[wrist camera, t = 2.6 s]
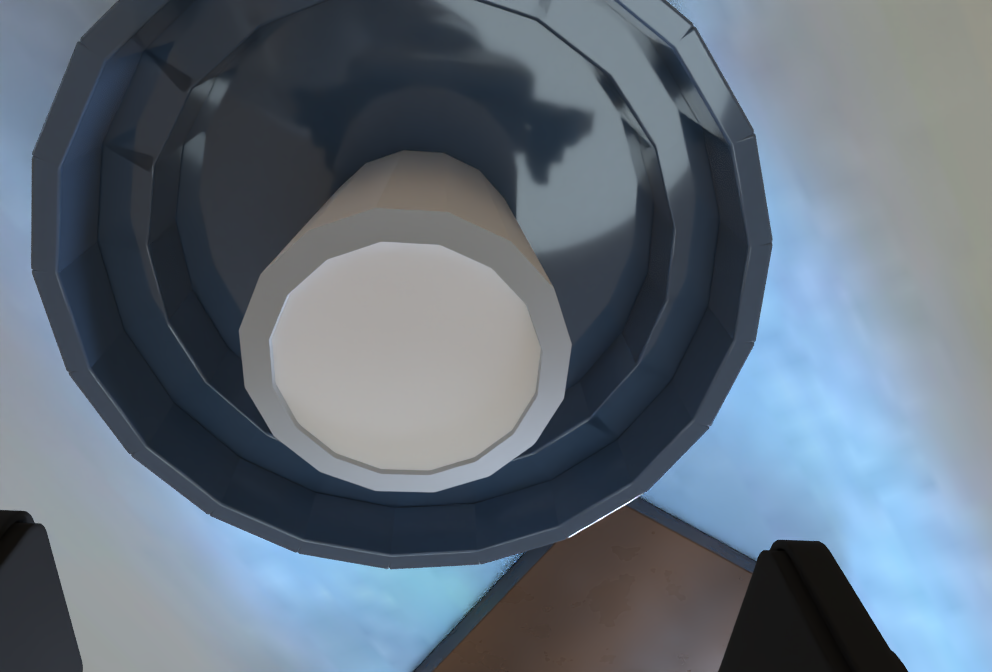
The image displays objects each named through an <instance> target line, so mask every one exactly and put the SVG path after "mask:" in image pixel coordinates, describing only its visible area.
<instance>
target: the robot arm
mask: <svg viewBox="0 0 992 672" xmlns="http://www.w3.org/2000/svg"><path fill="white" fill-rule="evenodd" d="M0 672H83V665H82V660H81V656H80V652H79V649H78V645H77V641H76V638H75V634H74V630H73V627H72V623H71V619H70V616H69V612H68V608H67V605H66V601H65V598H64V594H63V590H62V587H61V583H60V579H59V576H58V572H57V568H56V565H55V561H54V557H53V554H52V550H51V546H50V543H49V539H48V535H47V532H46V529H45V527H44V526H43V525H42V524H38V523H34V520H33V518H32V516H31V515H30V514H29V513H28V512H26V511H9V510H0ZM718 672H908V671H907V669H906V667H905V666H904V664H903V663H902V662H901V660H900V659H899V658H898V657H897V655H896V654H895V653H894V652H893V651H891V650H890V648H889V647H888V645H887V643H886V642H885V640H884V638H883V637H882V635H881V634H880V632H879V630H878V629H877V627H876V625H875V624H874V622H873V621H872V619H871V617H870V616H869V614H868V612H867V611H866V609H865V608H864V606H863V604H862V603H861V601H860V599H859V598H858V596H857V595H856V593H855V591H854V590H853V588H852V586H851V585H850V583H849V582H848V580H847V578H846V577H845V575H844V573H843V572H842V570H841V569H840V567H839V565H838V564H837V562H836V560H835V559H834V557H833V556H832V554H831V552H830V551H829V549H828V548H827V547H826V546H825V544H823V543H821V542H820V541H797V540H777V541H775V542H774V543H773V544H772V546H771V548H770V550H763V551H762V552H761V553H760V555H759V557H758V559H757V562H756V565H755V568H754V571H753V574H752V577H751V579H750V582H749V585H748V588H747V591H746V594H745V597H744V599H743V602H742V605H741V608H740V611H739V614H738V617H737V620H736V622H735V625H734V628H733V631H732V634H731V637H730V640H729V642H728V645H727V648H726V651H725V654H724V657H723V660H722V662H721V665H720V668H719V671H718Z"/></svg>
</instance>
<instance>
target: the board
mask: <svg viewBox="0 0 992 672" xmlns="http://www.w3.org/2000/svg"><path fill="white" fill-rule="evenodd" d="M755 565H756V561H754V560H752V559H750V558H748V557H746V556H745V555H743V554H741V553H739V552H737V551H735V550H734V549H732V548H730V547H728V546H726V545H724V544H723V543H721V542H719V541H717V540H715V539H713V538H712V537H710V536H708V535H706V534H704V533H702V532H701V531H699V530H697V529H695V528H693V527H692V526H690V525H688V524H686V523H684V522H682V521H681V520H679V519H677V518H675V517H673V516H671V515H670V514H668V513H666V512H664V511H662V510H660V509H659V508H657V507H655V506H653V505H651V504H649V503H648V502H646V501H644V500H642V499H640V498H636V499H634V500H633V501H631V502H629V503H627V504H626V505H624V506H622V507H621V508H619V509H617V510H616V511H614V512H612V513H610V514H609V515H607V516H605V517H604V518H602V519H600V520H598V521H597V522H595V523H593V524H592V525H590V526H588V527H586V528H585V529H583V530H581V531H580V532H578V533H576V534H574V535H573V536H571V537H569V538H566V539H565V540H562V541H559V542H555V543H552V544H549V545H545V546H542V547H538V548H535V549H532V550H528V551H527V552H526V553H525V554H524V555H523V556H522V557H521V558H520V559H519V560H518V561H517V562H516V563H515V564H514V566H513V567H512V568H511V569H510V570H509V571H508V572H507V573H506V574H505V575H504V576H503V577H502V578H501V579H500V580H499V582H498V583H497V584H496V585H495V586H494V587H493V588H492V589H491V590H490V591H489V592H488V593H487V594H486V595H485V596H484V598H483V599H482V600H481V601H480V602H479V603H478V604H477V605H476V606H475V607H474V608H473V609H472V610H471V611H470V612H469V614H468V615H467V616H466V617H465V618H464V619H463V620H462V621H461V622H460V623H459V624H458V625H457V626H456V627H455V628H454V630H453V631H452V632H451V633H450V634H449V635H448V636H447V637H446V638H445V639H444V640H443V641H442V642H441V643H440V644H439V646H438V647H437V648H436V649H435V650H434V651H433V652H432V653H431V654H430V655H429V656H428V657H427V658H426V659H425V660H424V662H423V663H422V664H421V665H420V666H419V667H418V668H417V669H416V670H415V671H414V672H718V671H719V668H720V665H721V662H722V660H723V657H724V654H725V651H726V648H727V645H728V642H729V640H730V637H731V634H732V631H733V628H734V625H735V622H736V620H737V617H738V614H739V611H740V608H741V605H742V602H743V599H744V597H745V594H746V591H747V588H748V585H749V582H750V579H751V577H752V574H753V571H754V568H755Z"/></svg>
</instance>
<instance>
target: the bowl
mask: <svg viewBox="0 0 992 672" xmlns="http://www.w3.org/2000/svg"><path fill="white" fill-rule="evenodd" d="M753 132H754V130H753V128H752V126H751V124H750V122H749V121H748V119H747V117H746V115H745V113H744V112H743V110H742V108H741V106H740V105H739V103H738V101H737V99H736V98H735V96H734V94H733V92H732V90H731V89H730V87H729V85H728V83H727V82H726V80H725V78H724V76H723V74H722V73H721V71H720V69H719V67H718V66H717V64H716V62H715V60H714V59H713V57H712V55H711V53H710V51H709V50H708V48H707V46H706V44H705V43H704V41H703V39H702V37H701V35H700V34H699V32H698V30H697V28H696V27H694V26H693V24H692V22H691V21H689V20H688V19H687V18H686V17H685V16H684V15H682V14H681V13H680V12H679V11H678V10H676V9H675V8H674V7H673V6H672V5H671V4H669V3H668V2H667V1H666V0H118V1H117V2H116V3H115V4H114V5H113V6H112V7H111V8H110V9H109V10H108V11H107V12H106V13H105V14H104V15H103V16H102V17H101V18H100V19H99V20H98V21H97V22H96V23H95V24H94V25H93V26H92V27H91V28H90V29H89V30H88V31H87V32H86V33H85V34H84V35H83V36H82V37H81V39H80V41H78V42H77V44H76V47H75V49H74V52H73V54H72V56H71V59H70V61H69V64H68V66H67V69H66V71H65V74H64V76H63V79H62V81H61V84H60V86H59V88H58V91H57V93H56V96H55V98H54V101H53V103H52V106H51V108H50V111H49V113H48V115H47V118H46V120H45V123H44V125H43V128H42V130H41V133H40V135H39V138H38V140H37V142H36V145H35V147H34V150H33V152H32V155H33V157H32V231H31V268H32V269H33V270H32V274H33V277H34V280H35V283H36V285H37V288H38V291H39V294H40V297H41V299H42V302H43V305H44V308H45V311H46V314H47V316H48V319H49V322H50V325H51V328H52V330H53V333H54V336H55V339H56V342H57V345H58V347H59V350H60V353H61V356H62V359H63V361H64V364H65V367H66V370H67V371H68V372H69V375H70V376H71V378H72V379H73V380H74V382H75V383H76V384H77V386H78V387H79V388H80V390H81V391H82V392H83V394H84V395H85V396H86V398H87V399H88V400H89V402H90V403H91V404H92V405H93V407H94V408H95V409H96V411H97V412H98V413H99V415H100V416H101V417H102V419H103V420H104V421H105V423H106V424H107V425H108V427H109V428H110V429H111V431H112V432H113V433H114V435H115V436H116V437H117V439H118V440H119V441H120V443H121V444H122V445H123V447H124V448H125V449H126V450H127V452H128V453H129V454H131V456H132V457H133V458H134V459H136V460H137V461H138V462H140V463H141V464H142V465H144V466H145V467H146V468H148V469H149V470H150V471H151V472H153V473H154V474H155V475H157V476H158V477H159V478H161V479H162V480H163V481H165V482H166V483H167V484H169V485H170V486H171V487H172V488H174V489H175V490H176V491H178V492H179V493H180V494H182V495H183V496H184V497H186V498H187V499H188V500H189V501H191V502H192V503H193V504H195V505H196V506H197V507H199V508H200V509H201V510H203V511H204V512H205V513H206V514H210V516H212V517H214V518H216V519H219V520H221V521H223V522H226V523H228V524H230V525H233V526H235V527H237V528H240V529H242V530H244V531H247V532H249V533H251V534H254V535H256V536H258V537H260V538H263V539H265V540H267V541H270V542H272V543H274V544H277V545H279V546H281V547H284V548H286V549H288V550H291V551H293V552H298V553H299V554H304V555H310V556H316V557H321V558H327V559H333V560H339V561H344V562H350V563H356V564H362V565H367V566H373V567H379V568H384V569H388V568H390V569H405V568H423V567H441V566H460V565H478V564H484V563H487V562H491V561H494V560H498V559H501V558H504V557H508V556H511V555H515V554H518V553H521V552H525V551H528V550H532V549H535V548H538V547H542V546H545V545H549V544H552V543H555V542H559V541H562V540H565V539H566V538H569V537H571V536H573V535H574V534H576V533H578V532H580V531H581V530H583V529H585V528H586V527H588V526H590V525H592V524H593V523H595V522H597V521H598V520H600V519H602V518H604V517H605V516H607V515H609V514H610V513H612V512H614V511H616V510H617V509H619V508H621V507H622V506H624V505H626V504H627V503H629V502H631V501H633V500H634V499H636V498H638V497H639V496H641V495H643V494H644V492H647V491H648V490H649V489H650V488H651V487H652V486H653V485H654V484H655V483H656V482H657V481H658V480H659V479H660V478H661V477H662V476H663V475H664V474H665V473H666V472H667V471H668V470H669V469H670V468H671V467H672V466H673V465H674V464H675V463H676V462H677V461H678V460H679V459H680V457H681V456H682V455H683V454H684V453H685V452H686V451H687V450H688V449H689V448H690V447H691V446H692V445H693V444H694V443H695V442H696V441H697V440H698V439H699V438H700V437H701V436H702V435H703V434H704V433H705V432H706V431H707V430H708V429H709V426H711V425H712V423H713V421H714V419H715V417H716V415H717V413H718V412H719V410H720V408H721V406H722V404H723V402H724V400H725V398H726V397H727V395H728V393H729V391H730V389H731V387H732V385H733V383H734V382H735V380H736V378H737V376H738V374H739V372H740V370H741V368H742V367H743V365H744V363H745V361H746V359H747V357H748V355H749V353H750V352H751V350H752V348H753V346H754V342H755V341H756V335H757V329H758V324H759V318H760V312H761V307H762V301H763V296H764V290H765V284H766V279H767V273H768V267H769V262H770V256H771V250H772V233H771V227H770V221H769V215H768V209H767V203H766V197H765V190H764V184H763V178H762V172H761V166H760V160H759V154H758V148H757V142H756V136H755V134H754V133H753ZM403 150H407V151H422V152H438V153H445V154H447V155H449V156H451V157H453V158H455V159H457V160H459V161H461V162H463V163H465V164H467V165H469V166H471V167H474V168H476V169H478V170H479V171H480V172H481V173H482V174H483V175H484V176H485V177H486V178H487V180H488V181H489V182H490V183H491V184H492V185H493V186H494V188H495V189H496V190H497V191H498V192H499V193H500V194H501V195H502V197H503V198H504V199H505V201H506V202H507V204H508V206H509V208H510V210H511V211H512V213H513V215H514V217H515V219H516V220H517V222H518V224H519V226H520V228H521V230H522V231H523V233H524V235H525V237H526V239H527V240H528V242H529V244H530V246H531V248H532V249H533V251H534V253H535V255H536V257H537V258H538V260H539V262H540V264H541V266H542V267H543V269H544V271H545V273H546V275H547V276H548V278H549V280H550V282H551V284H552V286H553V287H554V289H555V292H556V296H557V299H558V302H559V305H560V308H561V312H562V315H563V318H564V321H565V324H566V327H567V331H568V334H569V337H570V340H571V343H572V347H571V354H570V360H569V367H568V374H567V381H566V388H565V395H564V399H563V401H562V402H561V404H560V405H559V407H558V408H557V410H556V412H555V413H554V415H553V416H552V418H551V419H550V421H549V422H548V424H547V426H546V427H545V429H544V430H543V432H542V433H541V435H540V436H539V438H538V439H537V441H536V443H535V444H534V445H533V446H531V447H530V448H528V449H527V450H526V451H524V452H523V453H521V454H520V455H518V456H517V457H516V458H514V459H513V460H511V461H510V462H509V463H507V464H506V465H504V466H503V467H502V468H500V469H499V470H497V471H496V472H495V473H493V474H492V475H490V476H489V477H485V478H482V479H478V480H475V481H471V482H468V483H465V484H461V485H458V486H454V487H451V488H447V489H444V490H441V491H437V492H398V491H374V490H371V489H368V488H366V487H363V486H360V485H357V484H354V483H351V482H348V481H345V480H342V479H339V478H336V477H333V476H331V475H328V474H325V473H322V472H319V471H318V470H317V469H316V468H314V467H313V466H312V465H310V464H309V463H308V462H307V461H305V460H304V459H303V458H301V457H300V456H299V455H297V454H296V453H295V452H294V451H292V450H291V449H290V448H288V447H287V446H286V445H285V444H283V443H282V442H281V441H279V440H278V439H277V438H276V437H274V436H273V434H272V432H271V431H270V429H269V427H268V425H267V424H266V422H265V420H264V419H263V417H262V415H261V414H260V412H259V410H258V409H257V407H256V405H255V404H254V402H253V400H252V399H251V397H250V395H249V394H248V392H247V390H246V388H245V385H244V376H243V366H242V356H241V347H240V337H239V329H240V326H241V323H242V321H243V318H244V316H245V313H246V310H247V308H248V305H249V303H250V300H251V297H252V295H253V292H254V290H255V287H256V284H257V282H258V279H259V277H260V274H261V273H262V272H263V271H264V270H265V269H266V268H267V267H268V265H269V264H270V263H271V262H272V261H273V260H274V259H275V258H276V257H277V256H278V254H279V253H280V252H281V251H282V250H283V249H284V248H285V247H286V246H287V245H288V243H289V242H290V241H291V240H292V239H293V238H294V237H295V236H296V235H297V234H298V232H299V231H300V230H301V229H302V228H303V227H304V226H305V225H306V224H307V223H308V221H309V220H310V219H311V218H312V217H313V216H314V215H315V214H316V213H317V212H318V210H319V209H320V208H321V207H322V206H323V205H324V204H325V203H326V202H327V201H328V199H329V198H330V197H331V196H332V195H333V194H334V193H335V192H336V191H337V190H338V189H339V188H340V187H341V186H342V185H343V184H344V183H345V182H346V181H347V180H348V179H349V178H350V177H352V176H353V175H354V174H355V173H356V172H357V171H358V170H359V169H360V168H361V167H362V166H363V165H364V164H366V163H368V162H371V161H374V160H377V159H379V158H382V157H385V156H388V155H391V154H394V153H397V152H400V151H403Z"/></svg>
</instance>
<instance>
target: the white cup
mask: <svg viewBox="0 0 992 672" xmlns="http://www.w3.org/2000/svg"><path fill="white" fill-rule="evenodd" d="M239 337H240V347H241V356H242V366H243V376H244V385H245V388H246V390H247V392H248V394H249V395H250V397H251V399H252V400H253V402H254V404H255V405H256V407H257V409H258V410H259V412H260V414H261V415H262V417H263V419H264V420H265V422H266V424H267V425H268V427H269V429H270V431H271V432H272V434H273V436H274V437H276V438H277V439H278V440H279V441H281V442H282V443H283V444H285V445H286V446H287V447H288V448H290V449H291V450H292V451H294V452H295V453H296V454H297V455H299V456H300V457H301V458H303V459H304V460H305V461H307V462H308V463H309V464H310V465H312V466H313V467H314V468H316V469H317V470H318V471H319V472H322V473H325V474H328V475H331V476H333V477H336V478H339V479H342V480H345V481H348V482H351V483H354V484H357V485H360V486H363V487H366V488H368V489H371V490H374V491H398V492H437V491H441V490H444V489H447V488H451V487H454V486H458V485H461V484H465V483H468V482H471V481H475V480H478V479H482V478H485V477H489V476H490V475H492V474H493V473H495V472H496V471H497V470H499V469H500V468H502V467H503V466H504V465H506V464H507V463H509V462H510V461H511V460H513V459H514V458H516V457H517V456H518V455H520V454H521V453H523V452H524V451H526V450H527V449H528V448H530V447H531V446H533V445H534V444H535V443H536V441H537V439H538V438H539V436H540V435H541V433H542V432H543V430H544V429H545V427H546V426H547V424H548V422H549V421H550V419H551V418H552V416H553V415H554V413H555V412H556V410H557V408H558V407H559V405H560V404H561V402H562V401H563V399H564V395H565V388H566V381H567V374H568V367H569V360H570V354H571V347H572V343H571V340H570V337H569V334H568V331H567V327H566V324H565V321H564V318H563V315H562V312H561V308H560V305H559V302H558V299H557V296H556V292H555V289H554V287H553V286H552V284H551V282H550V280H549V278H548V276H547V275H546V273H545V271H544V269H543V267H542V266H541V264H540V262H539V260H538V258H537V257H536V255H535V253H534V251H533V249H532V248H531V246H530V244H529V242H528V240H527V239H526V237H525V235H524V233H523V231H522V230H521V228H520V226H519V224H518V222H517V220H516V219H515V217H514V215H513V213H512V211H511V210H510V208H509V206H508V204H507V202H506V201H505V199H504V198H503V197H502V195H501V194H500V193H499V192H498V191H497V190H496V189H495V188H494V186H493V185H492V184H491V183H490V182H489V181H488V180H487V178H486V177H485V176H484V175H483V174H482V173H481V172H480V171H479V170H478V169H476V168H474V167H471V166H469V165H467V164H465V163H463V162H461V161H459V160H457V159H455V158H453V157H451V156H449V155H447V154H445V153H438V152H422V151H407V150H403V151H400V152H397V153H394V154H391V155H388V156H385V157H382V158H379V159H377V160H374V161H371V162H368V163H366V164H364V165H363V166H362V167H361V168H360V169H359V170H358V171H357V172H356V173H355V174H354V175H353V176H352V177H350V178H349V179H348V180H347V181H346V182H345V183H344V184H343V185H342V186H341V187H340V188H339V189H338V190H337V191H336V192H335V193H334V194H333V195H332V196H331V197H330V198H329V199H328V201H327V202H326V203H325V204H324V205H323V206H322V207H321V208H320V209H319V210H318V212H317V213H316V214H315V215H314V216H313V217H312V218H311V219H310V220H309V221H308V223H307V224H306V225H305V226H304V227H303V228H302V229H301V230H300V231H299V232H298V234H297V235H296V236H295V237H294V238H293V239H292V240H291V241H290V242H289V243H288V245H287V246H286V247H285V248H284V249H283V250H282V251H281V252H280V253H279V254H278V256H277V257H276V258H275V259H274V260H273V261H272V262H271V263H270V264H269V265H268V267H267V268H266V269H265V270H264V271H263V272H262V273H261V274H260V277H259V279H258V282H257V284H256V287H255V290H254V292H253V295H252V297H251V300H250V303H249V305H248V308H247V310H246V313H245V316H244V318H243V321H242V323H241V326H240V329H239Z"/></svg>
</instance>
